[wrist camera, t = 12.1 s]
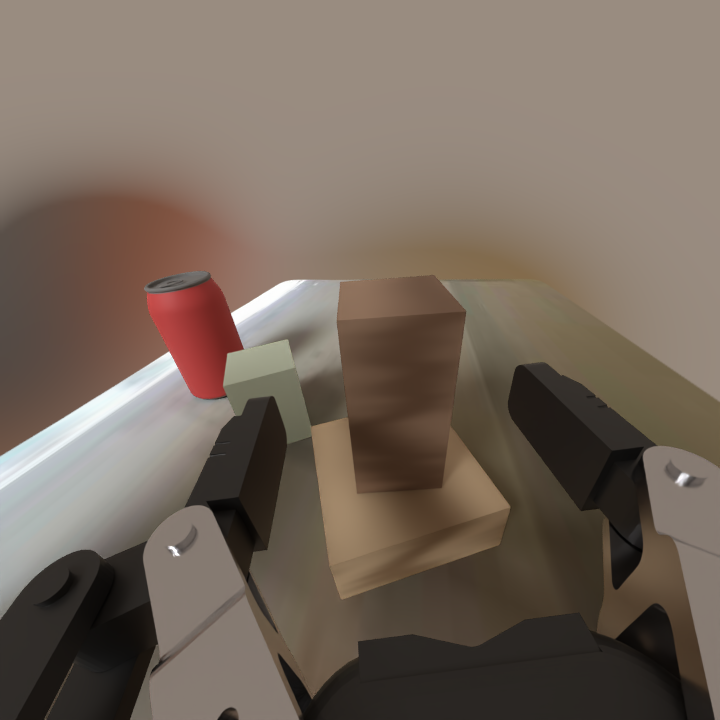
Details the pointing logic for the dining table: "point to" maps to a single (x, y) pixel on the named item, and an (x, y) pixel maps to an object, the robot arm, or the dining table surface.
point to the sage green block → (268, 384)
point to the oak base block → (401, 515)
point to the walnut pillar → (399, 378)
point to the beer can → (195, 328)
